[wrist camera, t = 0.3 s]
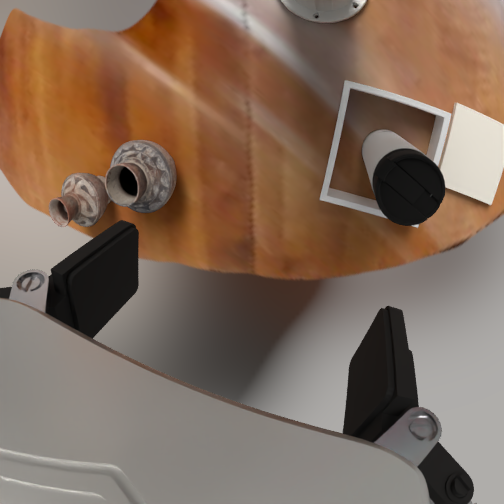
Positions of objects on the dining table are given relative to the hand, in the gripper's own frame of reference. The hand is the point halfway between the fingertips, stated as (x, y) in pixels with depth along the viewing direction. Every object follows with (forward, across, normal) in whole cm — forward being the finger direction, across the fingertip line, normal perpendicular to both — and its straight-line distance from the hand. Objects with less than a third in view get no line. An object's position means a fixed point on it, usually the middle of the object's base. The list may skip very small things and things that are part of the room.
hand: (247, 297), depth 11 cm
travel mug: (+36, -8, -2) cm, 37 cm away
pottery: (+36, +30, +12) cm, 48 cm away
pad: (+35, -22, -7) cm, 42 cm away
